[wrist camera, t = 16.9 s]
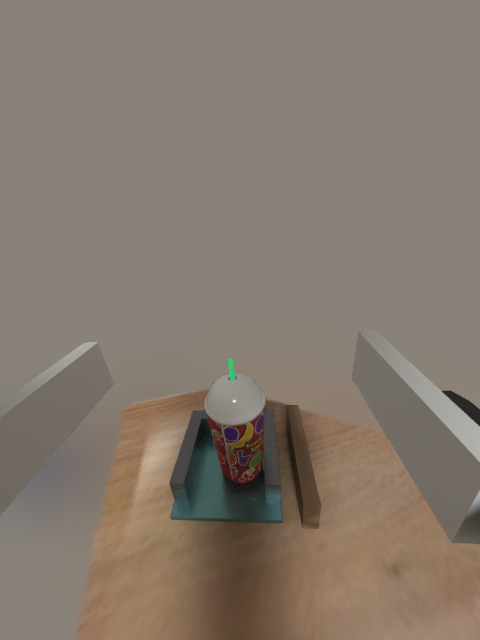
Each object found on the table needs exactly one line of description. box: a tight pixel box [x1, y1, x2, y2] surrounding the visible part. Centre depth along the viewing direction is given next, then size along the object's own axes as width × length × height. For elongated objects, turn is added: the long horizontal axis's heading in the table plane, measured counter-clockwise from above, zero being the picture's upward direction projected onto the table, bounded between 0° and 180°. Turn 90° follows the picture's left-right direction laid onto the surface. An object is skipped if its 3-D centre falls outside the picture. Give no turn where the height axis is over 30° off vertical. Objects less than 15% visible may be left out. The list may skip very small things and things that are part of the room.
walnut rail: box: [287, 405, 321, 529], centre depth 35 cm, size 2×16×5 cm, turn 176°
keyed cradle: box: [170, 410, 282, 523], centre depth 36 cm, size 15×15×4 cm
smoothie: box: [204, 359, 266, 484], centre depth 33 cm, size 8×8×20 cm
